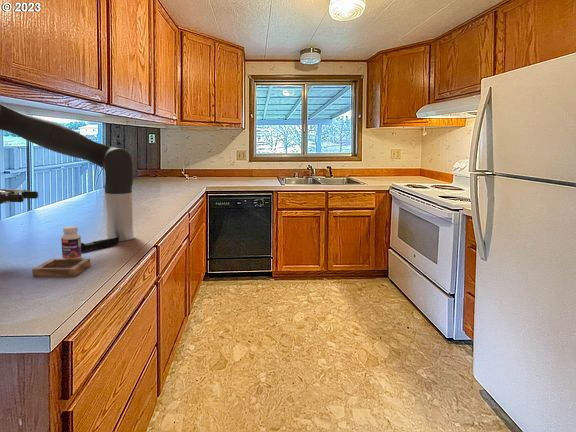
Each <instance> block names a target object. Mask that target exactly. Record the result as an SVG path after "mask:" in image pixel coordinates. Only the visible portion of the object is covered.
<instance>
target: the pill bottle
mask: <svg viewBox="0 0 576 432" xmlns="http://www.w3.org/2000/svg"><path fill="white" fill-rule="evenodd" d="M62 230H63V231H62V232H63V234H62V235H61V237H60V240H61V256H62V258H61V259H82V253H81V243H82V237H81V234H79V233H78V226H69V225H68V226H64V227H63V228H62Z"/></svg>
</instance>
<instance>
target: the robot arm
mask: <svg viewBox="0 0 576 432" xmlns="http://www.w3.org/2000/svg"><path fill="white" fill-rule="evenodd" d="M0 131H4V132H7V133H11V134H13V135H15V136H18V137H20V138H22V139H24V140H26V141H28V142H30V143H32V144H35V145H37V146H39V147H42V148H44V149H47V150H49V151H52V152H54V153H58V154H61V155H64V156H68V157H73V158H76V159H77V158H78V159H82V160H84V161H88V162H90V163H92V164H94V165H96V166H99V167H100V168H102V169H104V170H105V183H104V198H105V199H104V201H105V219H106V220H105V223H106V239H111V238H117V237H118V238H119V242H125V241H131V240H133V239H134V237H135V236H134V216H133V212H134V210H133V188H132V187H133V184H134V180H133V179H134V178H133V177H134V176H133V175H134V173H133V171H134V170H133V169H134V168H133V167H134V165H133V158H132V156H131V153H129V152H128V151H127V150H126V149H124V148H121V147H120V148H119V147H114V146H110V145H107V144H103V143H100V142H97V141H94V140H91V139H90V138H88V137H87V136H85V135H83V134H81V133H79V132H78V131H76V130H73V129H72V128H70V127H67V126H65V125H63V124H60V123H57V122H55V121H53V120H50V119H49V120H48V119H45V118H42V117H38V116H34V115H30V114H25V113H23V112H19V111H17V110H15V109H13V108H10V107H8V106H6V105H5V104H3V103H0ZM20 193H21V194H20ZM25 199H31V200H33V199H39V193H38V191H35V190H27V189H25V188H24V189H15V188H13V189H10V188H7V189H6V188H0V205H1V204H9V203H23V202H24V200H25Z"/></svg>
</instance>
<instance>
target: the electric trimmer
mask: <svg viewBox="0 0 576 432" xmlns="http://www.w3.org/2000/svg"><path fill="white" fill-rule="evenodd" d="M119 242H120V241H119V238H118V237H117V238H111V239H107V238H105V239H99V240H95V241H92V242H87V243H86V242H85V243H84V242H81V254H83V253H84V252H88V251H89V252H90V251H94V250H96V249H97V250H98V249H105V248H108V247H113V246H115V245H118V244H119Z"/></svg>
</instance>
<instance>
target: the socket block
mask: <svg viewBox="0 0 576 432" xmlns="http://www.w3.org/2000/svg"><path fill="white" fill-rule="evenodd" d="M63 266H73V267H63ZM53 267H54V268H53ZM87 267H88V268H89V267H91V258H80V259H63V258H50V259H49V260H47V261H45V262H42V263H41V264H39V265H37V266H35V267H33V268H32V277H51V276H75V277H76V276H78V275H80V272H81V273H82V272H83V271H85V270H86V269H88V268H87ZM77 274H78V275H77Z"/></svg>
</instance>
